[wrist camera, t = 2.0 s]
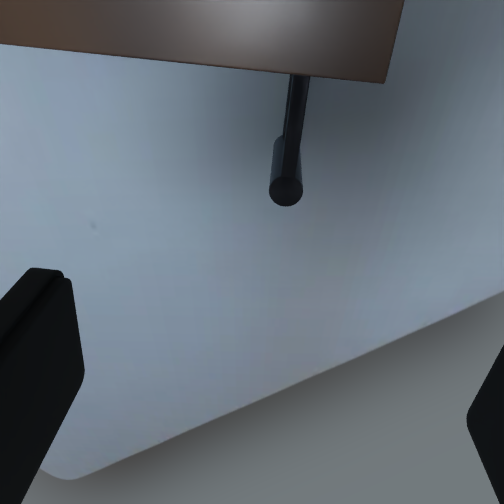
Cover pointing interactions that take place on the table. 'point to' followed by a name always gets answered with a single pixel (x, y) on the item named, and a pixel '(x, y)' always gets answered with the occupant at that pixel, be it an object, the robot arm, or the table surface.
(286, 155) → the sliding door
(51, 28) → the cabinet
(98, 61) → the table surface
